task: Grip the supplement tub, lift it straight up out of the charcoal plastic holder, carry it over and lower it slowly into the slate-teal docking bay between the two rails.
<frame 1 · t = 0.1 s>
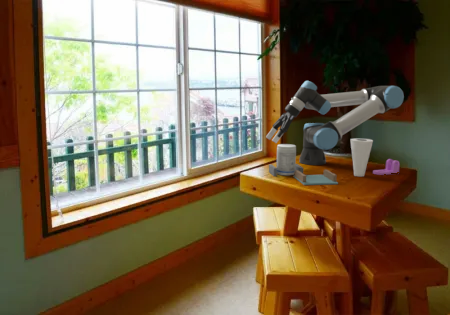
hand: (270, 140, 208), 15 cm above the table, tool tilted 35°, fingers open, 13 cm apart
cup: (359, 175, 197), on the table
docking bay: (314, 180, 185), on the table
holder: (285, 173, 199), on the table
bracket: (384, 173, 203), on the table
supplement tub: (285, 174, 199), resting in holder
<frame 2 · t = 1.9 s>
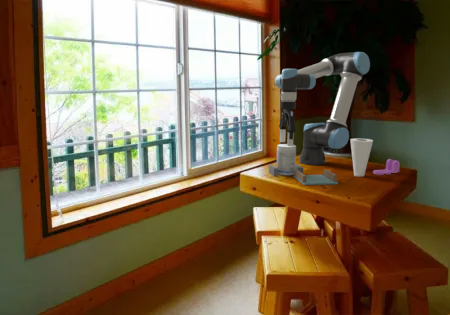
hand: (286, 143, 196), 15 cm above the table, tool pointing down, fingers open, 13 cm apart
nothing on the table moved.
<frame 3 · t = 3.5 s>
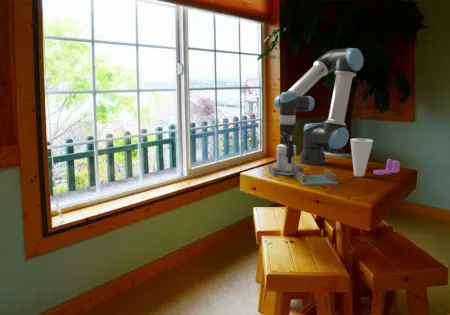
hand: (285, 167, 198), 3 cm above the table, tool pointing down, fingers closed on supplement tub, 10 cm apart
supplement tub: (285, 174, 199), resting in holder, touching gripper
everything else where it was.
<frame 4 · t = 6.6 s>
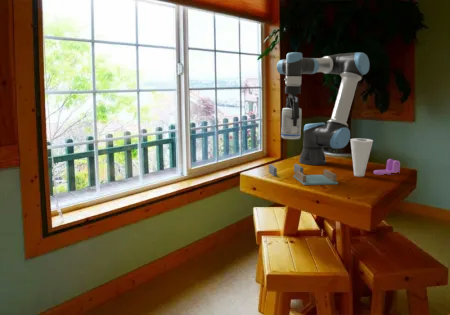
hand: (291, 131, 193), 22 cm above the table, tool pointing down, fingers closed on supplement tub, 10 cm apart
supplement tub: (290, 138, 193), point 18 cm above the table, touching gripper
everything else where it was.
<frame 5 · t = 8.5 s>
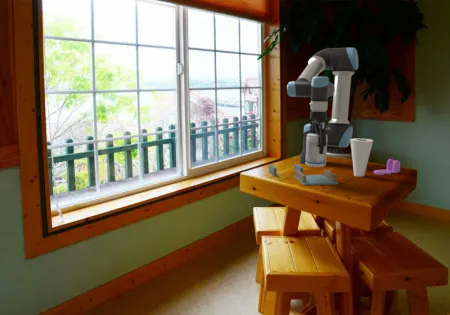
hand: (315, 158, 183), 10 cm above the table, tool pointing down, fingers closed on supplement tub, 10 cm apart
supplement tub: (315, 165, 184), point 7 cm above the table, touching gripper
everything else where it was.
when the fingers open (5 cm above the table, at t = 10.0 s): supplement tub drops 1 cm, resting on docking bay.
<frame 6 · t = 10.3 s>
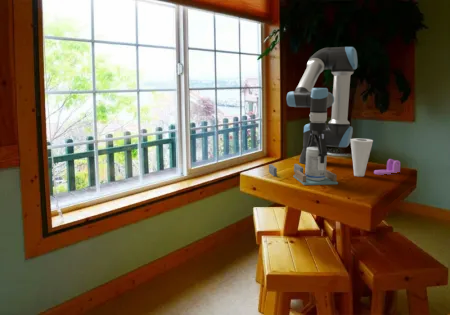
hand: (315, 167, 184), 6 cm above the table, tool pointing down, fingers open, 13 cm apart
supplement tub: (315, 179, 185), point 1 cm above the table, touching docking bay
everything else where it was.
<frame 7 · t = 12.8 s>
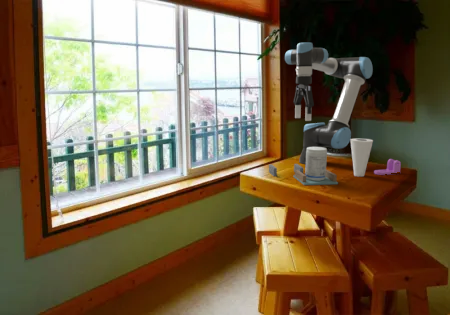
hand: (302, 119, 195), 28 cm above the table, tool pointing down, fingers open, 13 cm apart
nothing on the table moved.
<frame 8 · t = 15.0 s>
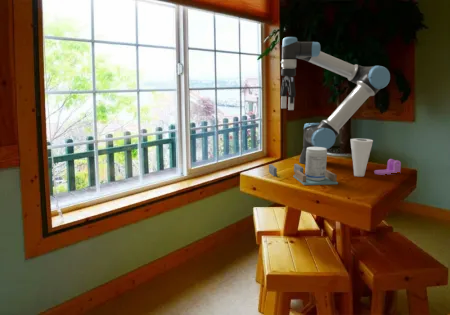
hand: (287, 109, 208), 32 cm above the table, tool pointing down, fingers open, 13 cm apart
nothing on the table moved.
at the end: supplement tub 0.2 cm off-centre on the docking bay, point 0.6 cm above the docking bay's base; supplement tub tilted 0°; the gripper is holding nothing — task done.
